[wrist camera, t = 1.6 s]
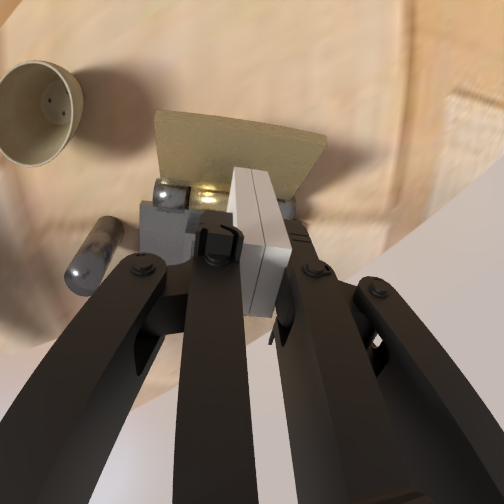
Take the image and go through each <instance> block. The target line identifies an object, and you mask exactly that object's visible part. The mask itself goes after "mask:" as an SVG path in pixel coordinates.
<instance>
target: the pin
mask: <svg viewBox="0 0 504 504" xmlns="http://www.w3.org/2000/svg"><path fill="white" fill-rule="evenodd" d="M123 233H124V229H123V226H122V224H121V223H120V221H119V220H117V219H116V218H114V217H112V216H104V217H102V218H100V219H99V220H98V221H97V223H96V224H95V226H94V227H93V229H92V230H91V232H90V233H89V235H88V236H87V238H86V240H85V241H84V243H83V244H82V246H81V247H80V249H79V251H78V252H77V254H76V255H75V257H74V259H73V260H72V262H71V263H70V265H69V267H68V268H67V270H66V272H65V275H64V279H65V283H66V285H67V286H68V288H69V289H70V290H71V291H73V292H74V293H76V294H77V295H80V296H85V297H88V296H92V295H93V293H94V292H95V291H96V290H97V288H98V287H99V285H100V282H101V280H102V278H103V276H104V274H105V272H106V269H107V267H108V265H109V263H110V261H111V259H112V257H113V255H114V253H115V251H116V249H117V246H118V244H119V242H120V240H121V238H122V236H123Z"/></svg>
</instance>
